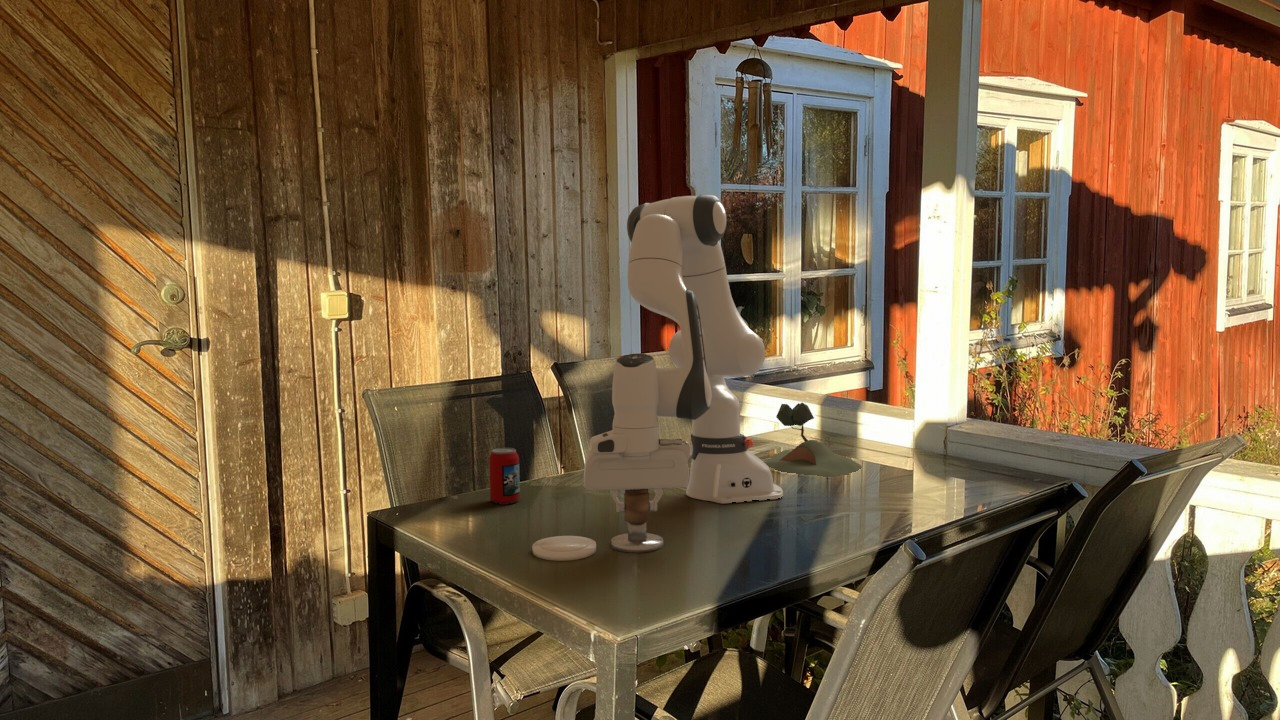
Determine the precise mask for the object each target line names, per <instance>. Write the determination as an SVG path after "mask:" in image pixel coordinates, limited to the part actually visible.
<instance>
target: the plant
mask: <svg viewBox="0 0 1280 720" xmlns="http://www.w3.org/2000/svg"><path fill="white" fill-rule="evenodd" d="M775 418H776V419H777V420H778V421H779V422H780V423H781V424H782V425H783V426H784V427H791V428H792V430H799V431H800V437H801V438H802V439H803V441H804V442H803V441H802V442H801V443H800V444H798V445H797V446H796V447H795V448H789V449H785V450H781V451H782V452H781V451H779V452H780V453H778V452H777V453H778V454H776V453H774V454H772V455H773V456H772V455H770V456H771V457H770V456H769V457H770V458H771V459H768V460H767V461H766V460H765V461H766V462H765V461H764V462H765V464H766V465H767V466H768V467H771V468H774V469H775V470H778V471H781V472H787V473H796V474H804V475H817V476H823V477H836V476H840V475H849V473H852V472H856V471H858V470H859V469H861V468H862V467H863V466H862V465H861V464H859V463H858V462H857V461H855V460H853V459H852V458H850V457H847V456H846V455H845V456H844V455H840V454H838V453H835V452H833V451H832V450H831V449H830V448H829V447H828V446H826V444H824V443H822V442H820V441H819V440H817V439H809V440H808V439H807V437H806V436H805V435H804V433H805V432H804V431H805V429H804V425H805V424H806V423H807V422H809V421H811V420H813V419H815V416H814V415H813V413H812V411H811V409H810V408H809V405H807V404H806V403H804V402H800V403H799V402H798V403H797V404H796V405H795V406H794V407H793V408H792V407H791V406H790V405H789V404H787V403H781V405H780V407H779V409H778V411H777V414H776V416H775ZM794 426H799V427H801V428H796V427H794ZM849 458H850V459H849Z"/></svg>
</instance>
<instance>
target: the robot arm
mask: <svg viewBox="0 0 1280 720" xmlns="http://www.w3.org/2000/svg"><path fill="white" fill-rule="evenodd" d="M627 217H628V218H627V220H626V229H627V230H626V232H627V235H628V238H629V241H630V243H631V244H630V249H629V255H628V263H627V265H628V266H627V288H628V291H629V293H630V295H631V297H632V298H633V299H634V301H636V302H637V303H638V304H639V305H640V306H642V307H644V308H645V309H647V310H648V311H650V312H653V313H655V314H659V315H660V316H664V317H666V318H667V319H670V320H672V321H674V322H676V323H677V325H678V326H679V329H680V330H678V331H677V332H675V333H674V335H672V337H671V339H670V341H669V345H668V355H669V359H670V361H671V363H672V364H673V366H674V367H675V368H663V367H662V368H661V367H657V365H656V361H655V358H654V356H652V355H650V354H647V353H646V354H645V353H629V354H625V355H622V356H620V357H618V358H617V359H616V360H615V363H614V369H613V374H612V375H613V376H612V387H611V388H612V392H611V403H612V406H613V407H612V408H613V411H614V415H613V420H612V429H611V430H609V431H606V432H602V433H600V434H597V435H594V436H592V437H591V438H590V440H589V449H590V451H589V452H588V453H587V455H586V456H585V460H584V461H585V462H584V469H583V487H584V489H586V490H587V491H588V492H589V491H591V492H592V491H610V495H611V496H610V497H612V499H613V501H614V502H615V504H616V505H615V507H616V513H624V512H625V509H624V507H625V505H624V501H620V500H619V498H618V496H619V491H620V490H621V491H623V490H624V491H625V490H630V489H648V490H649V489H650V490H651V489H654V492H655V496H654V497H653V499H651V500H649V512H657V511H658V503H659V501H660V500H661V498H662V496H663V494H664V491H663V490H664V489H678V488H680V489H681V488H686V491H685V495H686V496H687V497H689V498H692V499H695V500H696V499H697V500H700V501H701V500H702V501H708V502H709V501H710V502H714V503H717V504H732V502H736V503H745V502H744V501H747V502H753V501H752V500H759V501H767V499H770V500H779V499H778V498H780V499H782V498H783V497H784V491H783V488H782V487H780V486H779V485H778V484H776V483H774V477H773V472H772V471H771V470H770V468H769V467H768V466H767V465H766V464H765V463H764V462H765V461H763V460H762V459H760V458H759V457H758V456H757V455H756V454H754V453H753V452H751V451H750V450H749V449H750V448H752V447H753V446H754V444H755V442H754V440H753V439H752V438H751V437H747V436H746V435H743V434H741V404H740V403H741V402H739V399H738V398H737V397H738V396H736V395H735V394H734V393H733V392H732V391H731V390H730V388H729V387H728V385H727V383H726V379H725V377H727V378H728V377H729V378H742V377H748V376H753V375H755V374H756V373H758V372H759V371H760V370H761V369H762V367H763V365H764V362H765V359H766V348H765V343H764V342H763V339H762V338H761V337H760V335H758V334H757V333H755V332H754V331H753V330H752V329H751V328H750V327H749V326H748V325H747V323H746V322H745V321H744V319H743V317H742V316H741V314H740V312H739V311H738V308H737V307H736V304H735V302H734V299H733V297H732V292H731V289H730V287H731V286H730V284H729V283H730V282H729V279H728V274H727V273H728V272H727V266H726V262H725V257H724V253H723V249H722V246H721V243H720V241H721V240H722V238H723V237H724V234H725V232H726V231H727V222H728V219H727V218H728V217H727V212H726V207H725V205H724V204H723V202H722V201H721V200H720V199H719V198H718V197H717V196H716V195H712V194H704V193H703V194H702V193H701V194H698V195H683V196H675V197H671V198H667V199H662V200H657V201H654V202H651V203H650V202H645V203H642V204H639V205H637V206H635V207H634V208H633V209H632V210H631V212H630V213H629V215H628V216H627ZM659 418H677V419H683V420H691V421H692V422H691V423H692V426H691V427H692V433H691V434H690V441H689V443H688V441H685V440H683V439H682V438H675V439H671V438H667V439H666V438H661V439H660V421H659ZM690 458H691V465H690V471H689V465H688V464H689V463H688V461H689V459H690ZM782 496H783V497H782ZM781 497H782V498H781Z"/></svg>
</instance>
